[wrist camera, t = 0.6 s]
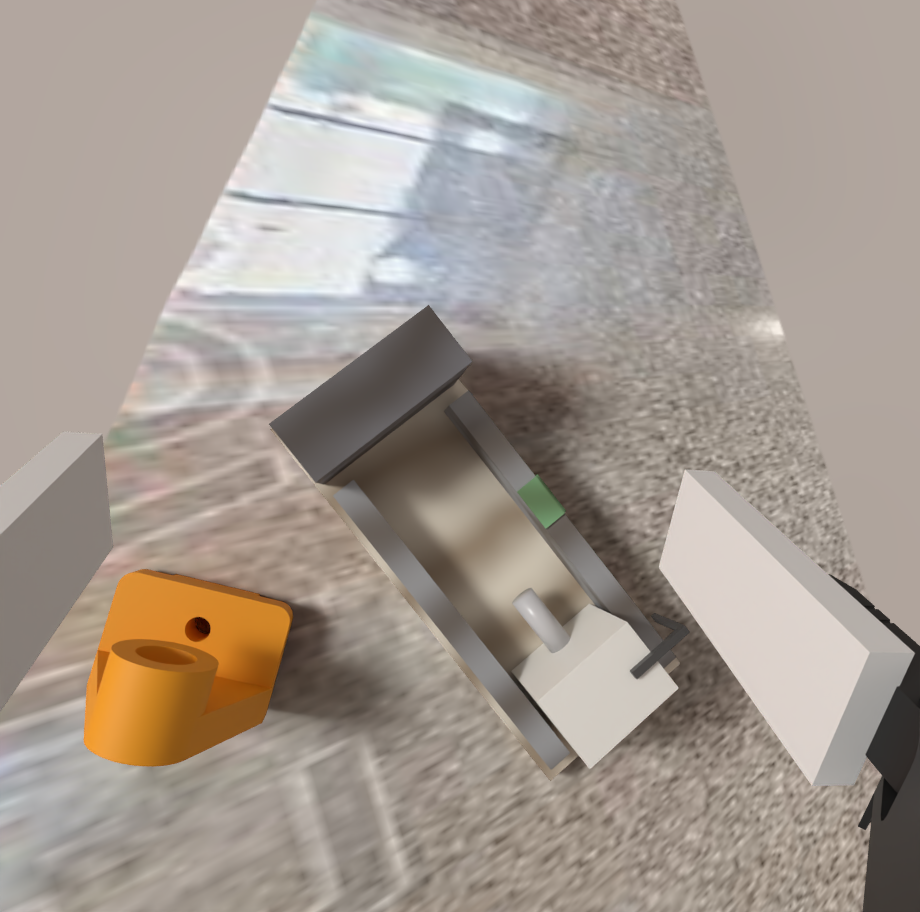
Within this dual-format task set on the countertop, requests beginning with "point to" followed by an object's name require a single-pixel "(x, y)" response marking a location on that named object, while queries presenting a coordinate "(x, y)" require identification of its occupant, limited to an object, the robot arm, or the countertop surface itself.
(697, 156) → the countertop surface
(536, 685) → the gauge carriage
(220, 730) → the bracket
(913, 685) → the robot arm
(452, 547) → the base
